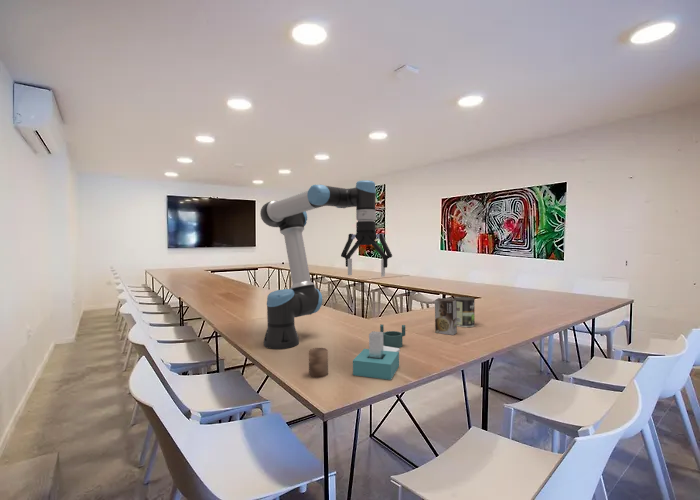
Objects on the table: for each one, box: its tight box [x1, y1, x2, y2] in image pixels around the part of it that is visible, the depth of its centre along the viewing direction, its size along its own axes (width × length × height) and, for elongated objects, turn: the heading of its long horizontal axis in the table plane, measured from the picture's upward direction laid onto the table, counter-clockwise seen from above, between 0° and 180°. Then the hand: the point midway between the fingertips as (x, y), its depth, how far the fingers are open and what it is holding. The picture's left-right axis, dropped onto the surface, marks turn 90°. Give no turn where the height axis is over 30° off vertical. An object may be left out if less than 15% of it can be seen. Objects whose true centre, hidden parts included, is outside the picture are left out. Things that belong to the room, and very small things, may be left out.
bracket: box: [379, 324, 406, 349], centre depth 148 cm, size 9×9×9 cm
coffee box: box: [434, 297, 458, 336], centre depth 166 cm, size 9×6×16 cm
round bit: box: [308, 347, 329, 379], centre depth 117 cm, size 6×6×8 cm
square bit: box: [368, 331, 384, 359], centre depth 119 cm, size 4×4×12 cm
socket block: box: [352, 348, 400, 381], centre depth 119 cm, size 13×13×5 cm
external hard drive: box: [383, 346, 401, 353], centre depth 137 cm, size 2×8×12 cm
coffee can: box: [453, 296, 476, 328], centre depth 181 cm, size 10×10×14 cm
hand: (366, 275), depth 135 cm, fingers open, 13 cm apart
